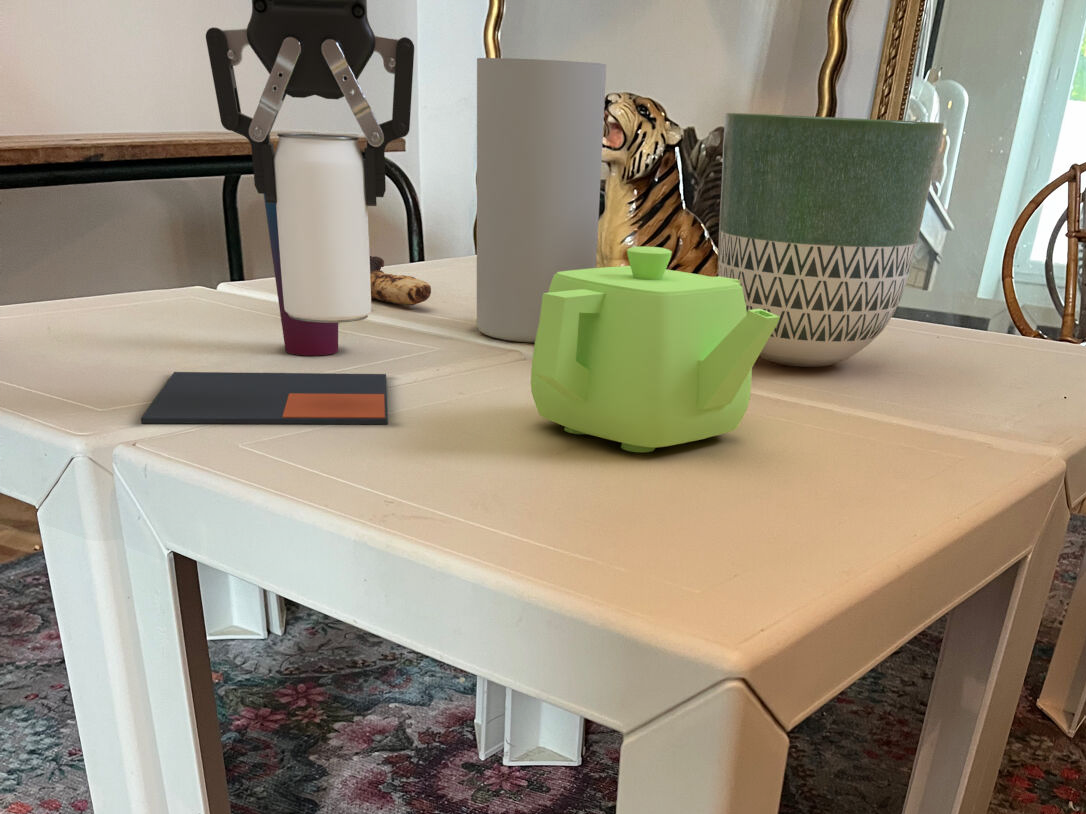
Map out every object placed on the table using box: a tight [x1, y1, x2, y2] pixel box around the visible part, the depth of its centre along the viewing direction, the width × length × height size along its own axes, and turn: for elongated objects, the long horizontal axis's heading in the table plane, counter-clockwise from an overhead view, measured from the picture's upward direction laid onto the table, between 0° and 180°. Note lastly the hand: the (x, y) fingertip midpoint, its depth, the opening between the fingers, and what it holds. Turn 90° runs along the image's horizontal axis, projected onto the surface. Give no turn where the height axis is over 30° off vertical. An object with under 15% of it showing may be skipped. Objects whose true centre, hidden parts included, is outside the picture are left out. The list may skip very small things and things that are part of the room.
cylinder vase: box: [476, 57, 607, 344], centre depth 115 cm, size 12×12×25 cm
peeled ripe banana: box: [370, 255, 432, 306], centre depth 133 cm, size 9×5×18 cm
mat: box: [140, 371, 389, 425], centre depth 91 cm, size 18×16×1 cm
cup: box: [263, 194, 339, 357], centre depth 104 cm, size 7×7×15 cm
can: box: [273, 132, 372, 324], centre depth 82 cm, size 6×6×12 cm
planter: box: [717, 112, 945, 368], centre depth 107 cm, size 20×20×21 cm
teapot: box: [530, 246, 780, 453], centre depth 81 cm, size 18×20×13 cm
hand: (321, 203), depth 81 cm, fingers closed on can, 6 cm apart
